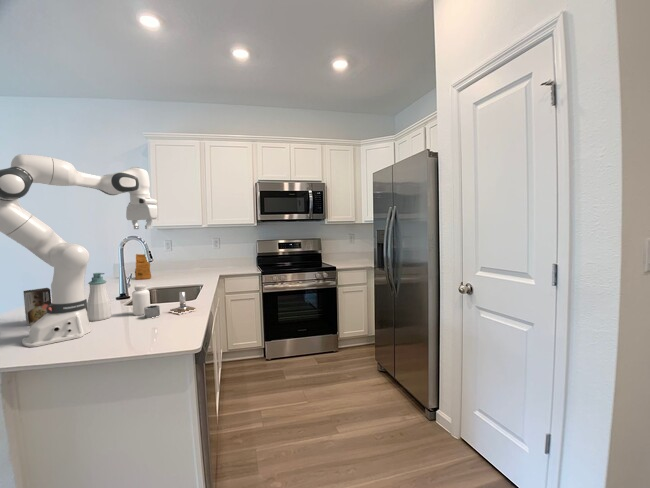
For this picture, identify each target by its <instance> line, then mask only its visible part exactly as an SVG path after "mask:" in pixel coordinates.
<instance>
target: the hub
mask: <svg viewBox="0 0 650 488" xmlns="http://www.w3.org/2000/svg"><path fill="white" fill-rule="evenodd" d="M160 308H161V307H160V305H156V304H155V305H150V306H148V307H145V308H144V313H145V315H144V319H146V318H152V317H156V316H159V315H160V316H161V313H160V312H161V311H160V310H161V309H160ZM160 316H159V317H160ZM152 319H153V318H152Z"/></svg>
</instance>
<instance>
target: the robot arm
mask: <svg viewBox="0 0 650 488" xmlns="http://www.w3.org/2000/svg"><path fill="white" fill-rule="evenodd" d="M32 184H43V185H48V186H60V187H72V186H73V187H74V186H77V187H83V188H89V189H95V190H98V191H100V192H102V193H104V194H105V195H108V196H117V195H120V194H125V193H129V202H128V204H127V206H126V215H125V217H126V220H127V221H131V223H132V226H133V230H139V229H140V227H139V226H140V225H138V221H145V222H146V225H144V229H146V230H151V225H152V223H153V221H152V220H157V218H158V206H157V204H158V200H157V199H154V198H153V197H151V193H150V188H151V182H150V176H149V172H148V171H147V170H146V169H144V168H142V167H137V166H131V167H130V168H128V169H126V170H123V171H118V172H114V173H109V174H105V175H97V174H96V175H95V174H90V173H87V172H82V171H79V170H77V169H76V167H75V166H74V165H73V163H71V162H69V161H66V160H63V159H60V158H55V157H50V156H45V155H38V154H26V153H24V154H23V153H21V154H17V155H15V156H14V157H13V158H12V160H11V163H10V167H8V168H3V169H0V233H2V234H3V235H5V236H6V237H8V238H10V239H11V240H13V241H15V242H16V243H17V244H19V245H21V246H22V247H24V248H25V249H27V250H28V251H30V252H31V253H32V254H33V255H34V256H36V257H37V258H39V259H40V260H42V262H44V263H46V264H47V265H48V266H50V267H53V277H52V281H51V284H50V293H51V304H50V305H47V304H45V305H43V306H42V308H43V309H45V310H46V312H47V314H45V315H44V316H43V317H42V318H40V319H39V320H38V321H36V322H35V323H34V324H33V325H31V326H30V328H29V331H28V336H27V337H24V338H23V339H22V340H21V345H23V346H24V347H28V348H29V347H31V348H32V347H39V346H41V347H42V346H45V345H50V344H54V343H60V342H64V341H70V340H75V339H79V338H82V337H84V336H85V335H87V334H88V333H91V332H92V331H93V328H92V326H91V324H90V321H89V320H88V316H87V309H88V307H87V302H88V300H87V299H88V298H86V290H85V289H86V287H85V279H86V271H87V266H88V262H89V260H90V253H89V251H88V249H86V248H85V247H84V246H83V245H81V244H78V243H71V242H67V241H66V240H64V238H62V237H61V236H60V235H58V234H57V233H56V232H55V231H54V230H53V228H52V227H50V226H49V225H48V224H46V223H45V222H43V221H42V220H41V219H40V218H37V217H36V216H35V214H34V215H33V214H32V213H31V212H30V211H27V209H25V208H23V206H22V205H21V204H20V202H19V199H21V198H23V197H24V196H26V195H27V194H28V193H29V190H30V188H31V187H32Z"/></svg>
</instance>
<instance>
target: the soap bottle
mask: <svg viewBox="0 0 650 488" xmlns="http://www.w3.org/2000/svg"><path fill="white" fill-rule="evenodd" d="M92 275H93V276H92V277H91V281H89V282H88V284H89V294H88V298H87V299H88V300H87V307H88V309H87V316H88V320H89V322H96V321H97V322H99V321H103V320H104V321H105V320H107V319H109V318H111V317H112V304H111V300H110V296H109V294H108V292H107V287H106V286H107V280H104V277H103V276H102V275H105V272H94V273H93V274H92Z"/></svg>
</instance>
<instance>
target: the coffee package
mask: <svg viewBox="0 0 650 488" xmlns="http://www.w3.org/2000/svg"><path fill="white" fill-rule="evenodd" d="M145 254H146V253H145ZM145 254H139V253H136V254H135V269H134V276H135V279H134V280H137V281H138V280H150V279H151V278H152V272H151V262H150V263H148V262H147V260H146V257H145Z"/></svg>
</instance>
